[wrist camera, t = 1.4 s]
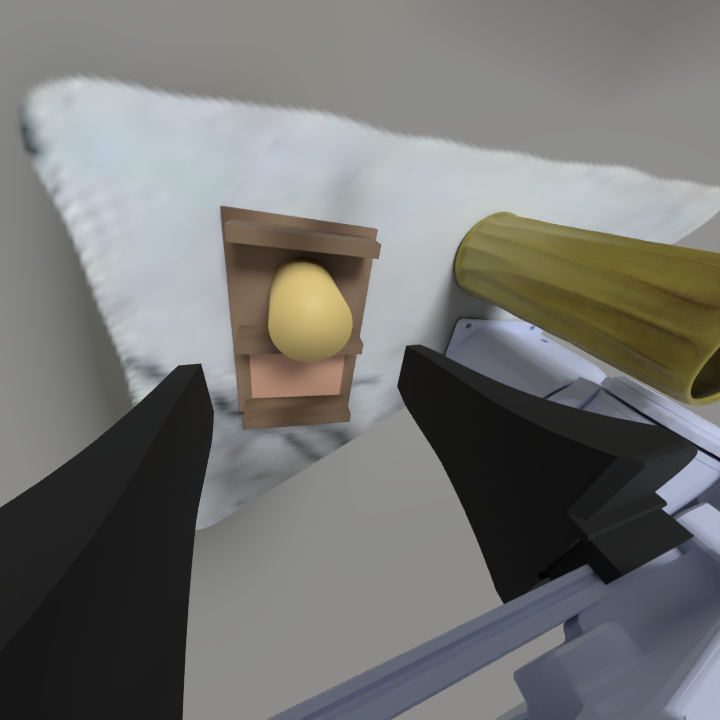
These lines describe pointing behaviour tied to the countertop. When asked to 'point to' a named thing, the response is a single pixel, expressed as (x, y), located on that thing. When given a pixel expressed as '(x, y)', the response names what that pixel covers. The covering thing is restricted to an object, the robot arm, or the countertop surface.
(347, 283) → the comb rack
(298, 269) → the peg
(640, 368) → the vase
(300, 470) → the countertop surface
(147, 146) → the countertop surface
